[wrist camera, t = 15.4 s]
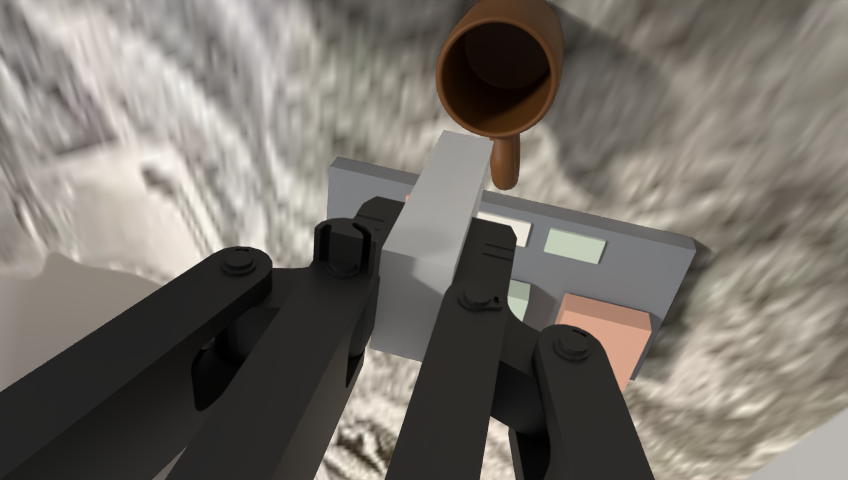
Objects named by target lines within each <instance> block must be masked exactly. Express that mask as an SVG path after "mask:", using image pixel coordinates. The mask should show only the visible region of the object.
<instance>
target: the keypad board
mask: <svg viewBox="0 0 848 480" xmlns="http://www.w3.org/2000/svg"><path fill="white" fill-rule="evenodd" d="M419 176H420V175H416V174H411V173H407V172H402V171H398V170H394V169H389V168H385V167H381V166H376V165H372V164H367V163H363V162H359V161H354V160H350V159H345V158H341V157H337V158H336V159H335V161H334V162H333V163H332V164H331V165H330V169H329V187H328V205H327V220H329V219H331V218H343V217H344V218H352V219H353V218H354V216H356V213H357V212H358V210H359V209H360V207H361V206H362V204H363V203H364V202H366V201H368V200H370V199H372V198H374V197H375V196H379V197H384V198H388V199H392V200H397V201H401V202H405V203H406V201H407V199H408V198H409V196H410V194H411V192H412V190H413V188H414V186H415V184H416V182H417V180H418V178H419ZM477 218H480V219H484V220H488V221H493V222H497V223H501V224H505V225H510V226H511V227H512V229H513V231H514V233H515V235H516V237H517V243H516V249H515V255H514V261H513V267H512V273H511V280H515V281H519V282H523V283H527V284H530V292H529V300H528V304H527V307H526V311H525V314H524V317H523V321H522V322H523V323H525V324H527V325H528V326H530V327H532V328H534V329H536V330H538V331H540V332H541V331H542V330H543V329H544V328H546V327H548V326H551V325H554V324H555V321H556V318H557V316H558V313H559V310H560V307H561V304H562V301H563V298H564V295H565V293H568V294H572V295H576V296H580V297H585V298H589V299H593V300H597V301H601V302H605V303H609V304H613V305H617V306H622V307H626V308H630V309H634V310H638V311H642V312H646V313H649V318H650V324H651V331H652V332H651V334H650V336H649V338H648V341H647V343H646V345H645V347H644V349H643V351H642V353H641V355H640V358H639V360H638V362H637V364H636V366H635V368H634V370H633V372H632V375H631V377H630V380H634V381H635V379H636V376H637V374H638V372H639V370H640V368H641V366H642V364H643V362H644V360H645V358H646V355H647V353H648V351H649V349H650V347H651V345H652V343H653V341H654V339H655V337H656V335H657V332H658V330H659V328H660V326H661V324H662V322H663V320H664V318H665V316H666V314H667V312H668V309H669V307H670V305H671V303H672V301H673V299H674V297H675V295H676V293H677V291H678V288H679V286H680V284H681V282H682V280H683V278H684V276H685V274H686V272H687V270H688V268H689V265H690V263H691V261H692V259H693V257H694V255H695V253H696V248H695V245H694V241H693V238H692V237H687V236H683V235H678V234H674V233H670V232H665V231H661V230H657V229H652V228H648V227H643V226H639V225H635V224H630V223H626V222H622V221H617V220H613V219H608V218H604V217H600V216H595V215H591V214H586V213H582V212H578V211H573V210H569V209H565V208H560V207H556V206H551V205H547V204H543V203H538V202H534V201H530V200H525V199H521V198H516V197H512V196H508V195H503V194H499V193H494V192H490V191H486V190H483V193H482V198H481V202H480V207H479V211H478V216H477Z"/></svg>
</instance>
